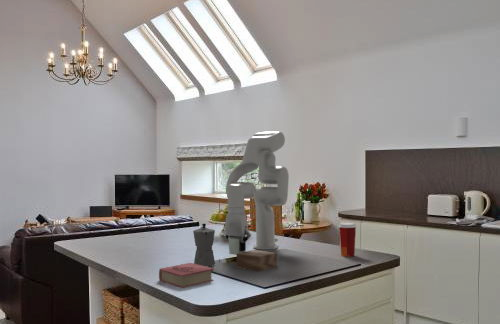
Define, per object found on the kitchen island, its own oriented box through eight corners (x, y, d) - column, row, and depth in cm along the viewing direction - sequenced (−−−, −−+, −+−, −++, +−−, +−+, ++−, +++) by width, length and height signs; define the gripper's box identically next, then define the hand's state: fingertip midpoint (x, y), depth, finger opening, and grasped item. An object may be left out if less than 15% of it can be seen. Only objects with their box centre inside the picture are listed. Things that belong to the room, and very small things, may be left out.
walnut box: (254, 263, 205) (254, 249, 205) (276, 266, 197) (276, 252, 197) (236, 268, 196) (236, 253, 196) (258, 272, 188) (258, 257, 188)
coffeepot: (217, 267, 196) (217, 224, 196) (195, 269, 193) (194, 225, 194) (212, 260, 211) (211, 220, 211) (191, 261, 208) (191, 221, 209)
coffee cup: (357, 254, 221) (357, 222, 221) (355, 257, 213) (355, 224, 213) (339, 253, 224) (339, 222, 224) (337, 256, 216) (336, 224, 216)
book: (189, 275, 185) (189, 262, 185) (213, 281, 174) (213, 268, 174) (158, 281, 175) (158, 268, 175) (181, 289, 164) (181, 274, 164)
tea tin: (236, 251, 217) (235, 234, 217) (245, 252, 214) (245, 235, 214) (229, 253, 212) (228, 236, 212) (239, 255, 209) (238, 237, 209)
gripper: (216, 211, 214) (217, 250, 215) (247, 213, 205) (248, 253, 205) (226, 209, 220) (227, 247, 221) (256, 210, 211) (257, 250, 211)
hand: (237, 249), depth 213 cm, fingers closed on tea tin, 5 cm apart
